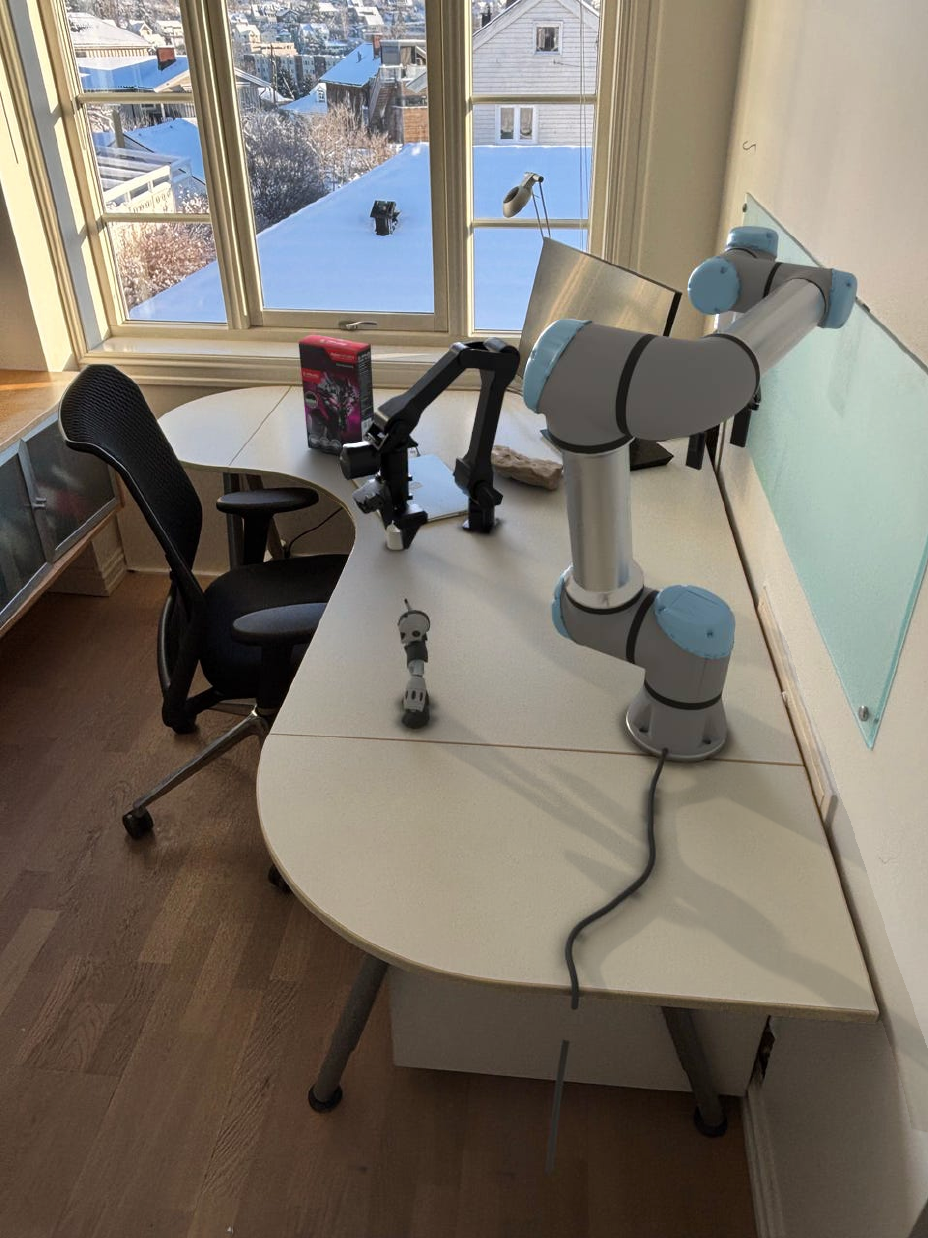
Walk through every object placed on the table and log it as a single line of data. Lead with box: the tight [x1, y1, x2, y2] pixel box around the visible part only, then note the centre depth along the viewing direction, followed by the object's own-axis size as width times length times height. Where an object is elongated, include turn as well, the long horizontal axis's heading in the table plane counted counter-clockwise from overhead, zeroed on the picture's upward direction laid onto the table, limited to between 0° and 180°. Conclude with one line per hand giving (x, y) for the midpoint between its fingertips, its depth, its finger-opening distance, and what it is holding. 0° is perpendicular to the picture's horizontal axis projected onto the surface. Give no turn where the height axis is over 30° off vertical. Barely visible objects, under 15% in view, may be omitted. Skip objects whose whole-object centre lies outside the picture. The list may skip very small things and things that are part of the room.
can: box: [386, 523, 404, 551], centre depth 190 cm, size 4×4×4 cm
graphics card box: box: [297, 333, 375, 456], centre depth 223 cm, size 17×7×27 cm, turn 62°
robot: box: [396, 598, 431, 729], centre depth 141 cm, size 20×5×20 cm, turn 3°
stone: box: [491, 444, 563, 490], centre depth 217 cm, size 21×15×6 cm
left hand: (396, 539), depth 190 cm, fingers open, 9 cm apart
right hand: (715, 456), depth 158 cm, fingers open, 13 cm apart
